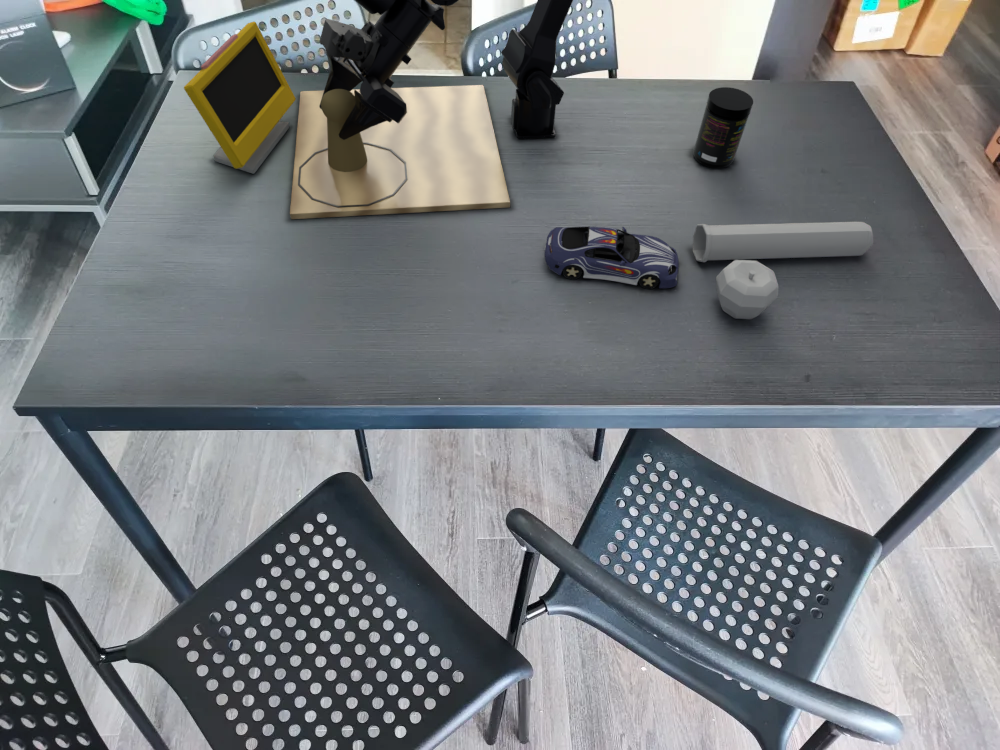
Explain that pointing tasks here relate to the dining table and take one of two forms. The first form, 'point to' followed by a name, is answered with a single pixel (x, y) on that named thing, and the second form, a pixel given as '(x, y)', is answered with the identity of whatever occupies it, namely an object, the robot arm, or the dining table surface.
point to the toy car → (611, 256)
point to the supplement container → (722, 127)
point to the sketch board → (404, 159)
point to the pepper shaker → (340, 151)
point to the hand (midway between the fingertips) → (331, 123)
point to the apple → (746, 288)
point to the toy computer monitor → (242, 99)
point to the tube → (781, 240)
